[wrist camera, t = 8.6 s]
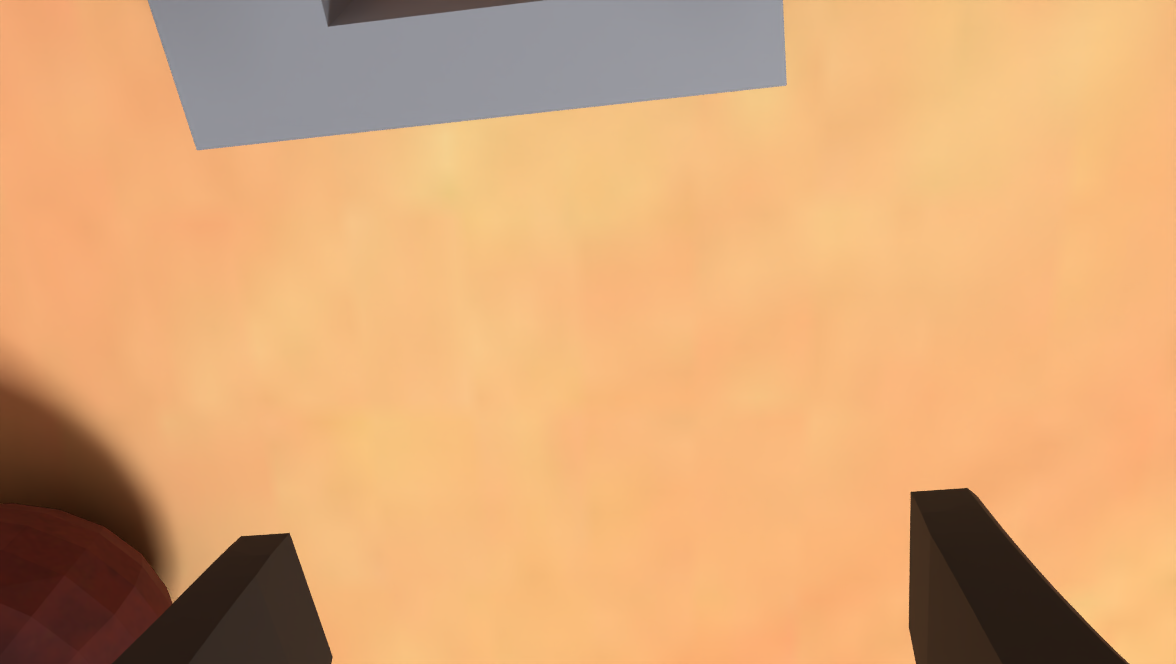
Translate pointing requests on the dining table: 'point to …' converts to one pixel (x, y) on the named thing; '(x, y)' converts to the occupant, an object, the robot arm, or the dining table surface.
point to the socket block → (449, 59)
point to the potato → (70, 589)
